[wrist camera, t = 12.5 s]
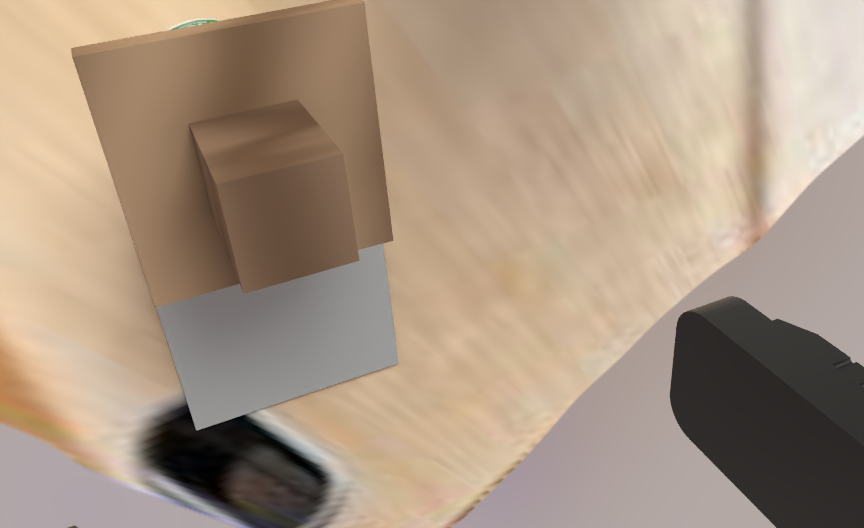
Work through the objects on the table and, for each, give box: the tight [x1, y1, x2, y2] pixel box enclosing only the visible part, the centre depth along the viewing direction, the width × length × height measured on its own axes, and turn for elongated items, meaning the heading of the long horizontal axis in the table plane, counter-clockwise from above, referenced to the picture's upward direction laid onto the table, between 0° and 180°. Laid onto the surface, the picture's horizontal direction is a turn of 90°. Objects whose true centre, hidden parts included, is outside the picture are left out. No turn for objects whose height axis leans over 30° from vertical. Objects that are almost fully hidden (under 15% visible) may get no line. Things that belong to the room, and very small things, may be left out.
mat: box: [156, 243, 398, 431], centre depth 42 cm, size 12×12×1 cm
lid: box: [71, 0, 393, 308], centre depth 25 cm, size 9×9×6 cm
